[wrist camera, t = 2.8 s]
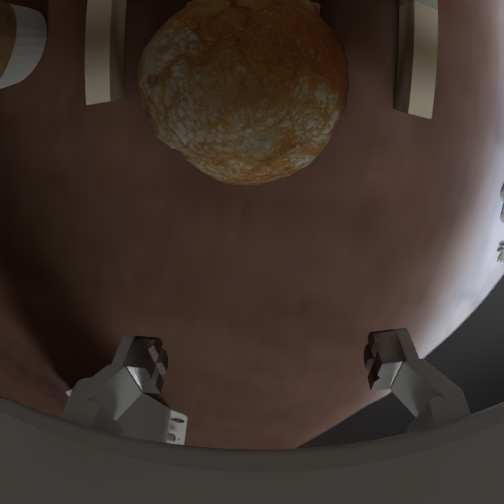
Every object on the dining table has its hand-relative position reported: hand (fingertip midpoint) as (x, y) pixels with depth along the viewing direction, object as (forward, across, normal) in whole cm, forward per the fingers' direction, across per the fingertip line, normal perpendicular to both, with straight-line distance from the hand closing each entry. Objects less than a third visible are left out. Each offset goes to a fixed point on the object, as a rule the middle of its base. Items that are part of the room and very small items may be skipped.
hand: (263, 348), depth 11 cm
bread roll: (+11, 0, -10) cm, 15 cm away
